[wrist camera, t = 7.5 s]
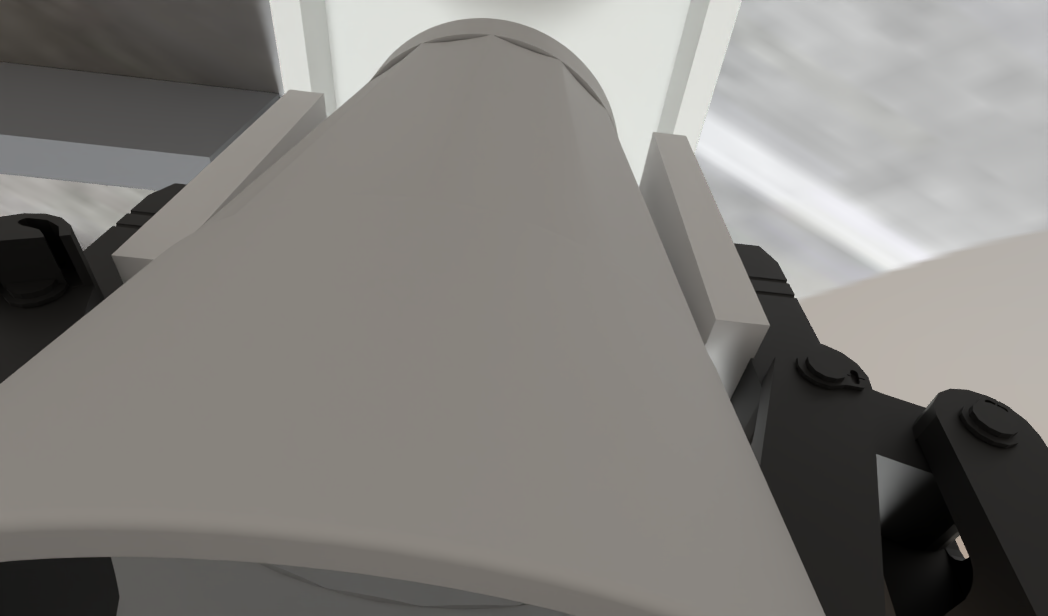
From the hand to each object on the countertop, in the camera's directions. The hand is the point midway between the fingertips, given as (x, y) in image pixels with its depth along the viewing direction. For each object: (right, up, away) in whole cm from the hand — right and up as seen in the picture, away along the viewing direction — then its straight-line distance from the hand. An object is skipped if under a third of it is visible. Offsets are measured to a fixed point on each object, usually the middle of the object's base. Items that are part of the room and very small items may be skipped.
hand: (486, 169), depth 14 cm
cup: (0, +1, +1) cm, 1 cm away
